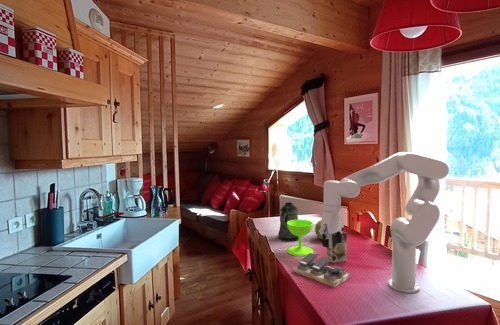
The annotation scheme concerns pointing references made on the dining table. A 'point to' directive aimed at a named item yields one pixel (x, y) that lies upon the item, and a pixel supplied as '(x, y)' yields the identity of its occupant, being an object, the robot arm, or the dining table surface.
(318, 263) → the rocker middle
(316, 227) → the fruit
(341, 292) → the dining table surface
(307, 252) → the wineglass
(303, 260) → the plate
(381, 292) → the dining table surface
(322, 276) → the switch board
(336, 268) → the rocker near
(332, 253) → the coffee box
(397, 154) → the robot arm
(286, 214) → the beer stein
